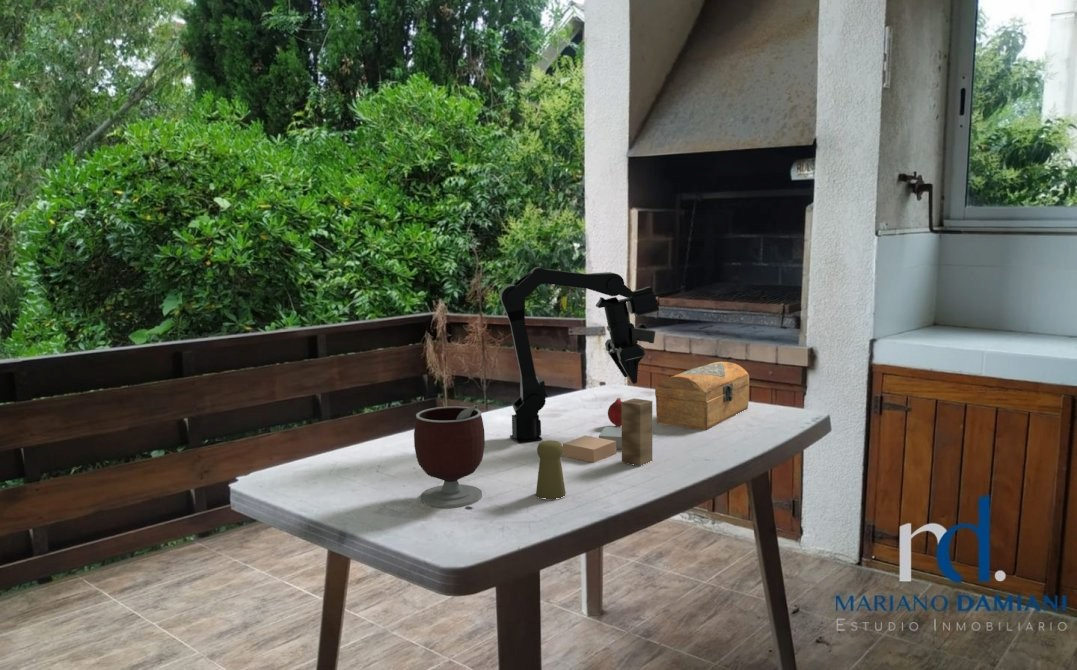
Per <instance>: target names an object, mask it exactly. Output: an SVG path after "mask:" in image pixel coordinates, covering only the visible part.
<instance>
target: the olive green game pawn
mask: <svg viewBox="0 0 1077 670" xmlns="http://www.w3.org/2000/svg"><path fill="white" fill-rule="evenodd" d="M536 454H537V456H538V457H539V464H538V474H537V481H536V490H535V497H536V496H537V497H539V498H546V499H556V498H561V497H563V496H565V494H566V495H567V492H566V488H565V487H566V486H565V480H564V473H563V467H562V460H561V458H562V457H563V443H561V442H560V441H558V440H552V439H551V440H550V439H549V440H548V439H547V440H541V442H539V443H538V444H537V448H536ZM537 497H536V498H537ZM565 497H566V496H565ZM539 498H538V499H539ZM561 499H562V498H561Z"/></svg>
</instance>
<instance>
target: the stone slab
mask: <svg viewBox="0 0 1077 670" xmlns="http://www.w3.org/2000/svg"><path fill="white" fill-rule="evenodd" d="M598 438H602V439H607V440H613V441H616V450H622V427H617V426H615V427H614V426H605V427H604V428H603V429H602V431H600V434H599V435H598Z"/></svg>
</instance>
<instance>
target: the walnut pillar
mask: <svg viewBox="0 0 1077 670" xmlns="http://www.w3.org/2000/svg"><path fill="white" fill-rule="evenodd" d="M621 408H622V426H621V428H622V449H621V463H622V462H623V463H622V464H627V463H629V464H628V465H631V464H634V465H633V466H636V465H639V466H638V467H642V466H644V465H643V464H645V465H646V463H647V464H649V463H651V462H650V461H652V462H653V400H647V399H640V398H635V397H634V398H633V397H632V398H631V399H630V398H629V399H626V400H624V401H622V402H621ZM648 462H649V463H648ZM641 465H642V466H641Z"/></svg>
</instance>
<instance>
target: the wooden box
mask: <svg viewBox="0 0 1077 670" xmlns="http://www.w3.org/2000/svg"><path fill="white" fill-rule="evenodd" d="M654 389H655V391H654V395H655V405H656V406H655V409H656V411H655V412H656V423H657V424H662V425H666V426H667V425H668V426H673V425H674V426H675V427H681V428H687V427H688V429H695V430H702V431H708V430H710V429H712V428H713V427H716V426H717V425H720V424H721V423H723V422H725V421H727V420H729V419H731V418H733V417H735V416H737V415H739V414H741V413H742V411H743V412H745V411H747V410H748V409H749V400H750V374H749V373H748V372H747V370H746V369H745V368H743V367H742V366H741V365H739V364H737V363H734V362H730V361H715V362H711V363H709V364H705V365H702V366H698V367H694V368H691V369H688V370H686V371H683V372H681V373H678V374H675V375H672V376H669V377H666V378H664V379H663V380H661V381H660V382H659V383H658V384H657V386H655V388H654ZM746 409H747V410H746ZM744 410H745V411H744ZM740 412H741V413H740ZM738 413H739V414H738ZM736 414H737V415H736ZM734 415H735V416H734ZM732 416H733V417H732Z"/></svg>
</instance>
